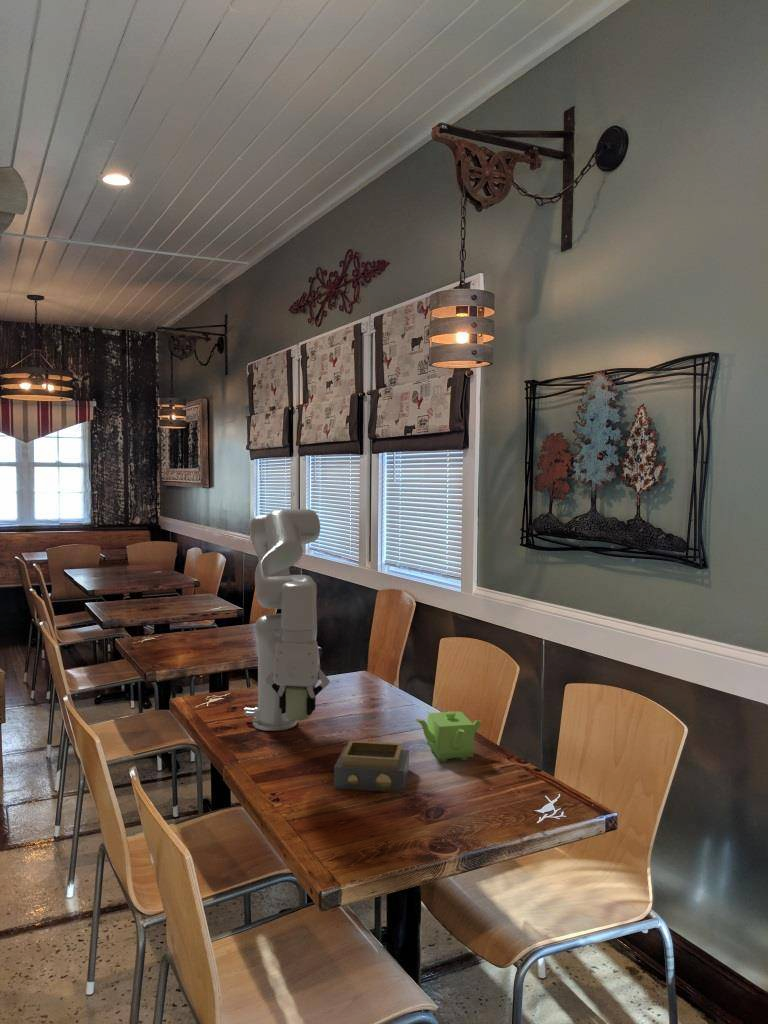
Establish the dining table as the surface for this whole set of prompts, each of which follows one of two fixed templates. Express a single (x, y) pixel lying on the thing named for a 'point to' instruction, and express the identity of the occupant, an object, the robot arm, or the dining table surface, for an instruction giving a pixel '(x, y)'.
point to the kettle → (450, 734)
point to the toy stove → (372, 767)
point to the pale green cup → (296, 703)
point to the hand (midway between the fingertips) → (297, 711)
